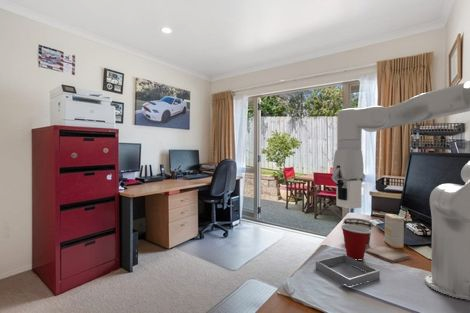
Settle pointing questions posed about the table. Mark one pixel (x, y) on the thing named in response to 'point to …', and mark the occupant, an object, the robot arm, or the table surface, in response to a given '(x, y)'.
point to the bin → (323, 264)
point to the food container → (359, 224)
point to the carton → (351, 195)
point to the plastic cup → (355, 240)
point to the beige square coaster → (387, 254)
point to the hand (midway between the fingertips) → (348, 198)
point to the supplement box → (394, 230)
